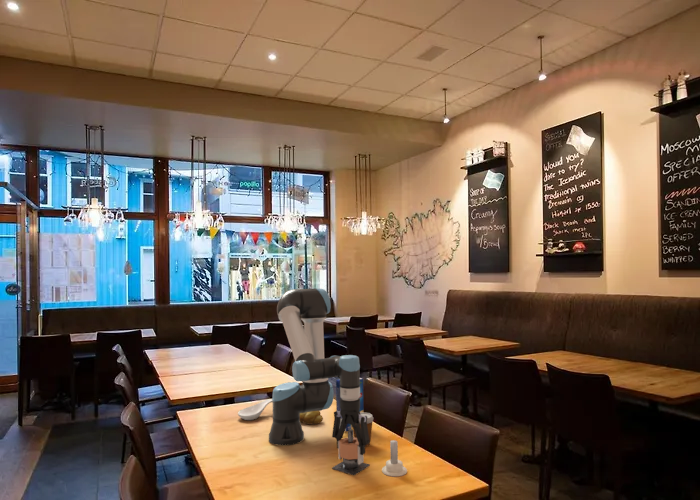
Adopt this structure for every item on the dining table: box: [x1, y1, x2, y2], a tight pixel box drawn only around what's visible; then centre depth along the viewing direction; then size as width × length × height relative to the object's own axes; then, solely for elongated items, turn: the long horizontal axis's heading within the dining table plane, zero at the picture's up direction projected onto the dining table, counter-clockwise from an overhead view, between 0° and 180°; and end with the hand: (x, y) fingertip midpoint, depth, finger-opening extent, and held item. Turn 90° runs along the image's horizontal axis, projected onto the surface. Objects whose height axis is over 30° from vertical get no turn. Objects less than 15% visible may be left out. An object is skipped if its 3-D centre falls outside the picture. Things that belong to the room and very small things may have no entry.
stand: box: [331, 429, 371, 476], centre depth 173 cm, size 10×10×14 cm
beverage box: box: [335, 377, 365, 433], centre depth 217 cm, size 7×11×22 cm, turn 133°
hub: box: [381, 439, 408, 478], centre depth 169 cm, size 9×9×10 cm
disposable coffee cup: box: [353, 412, 375, 448], centre depth 195 cm, size 10×10×12 cm
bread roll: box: [300, 411, 324, 425], centre depth 225 cm, size 13×10×8 cm
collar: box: [339, 436, 359, 460], centre depth 173 cm, size 8×8×5 cm
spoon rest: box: [237, 398, 273, 421], centre depth 236 cm, size 24×12×7 cm, turn 132°
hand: (350, 460), depth 173 cm, fingers closed on collar, 8 cm apart
